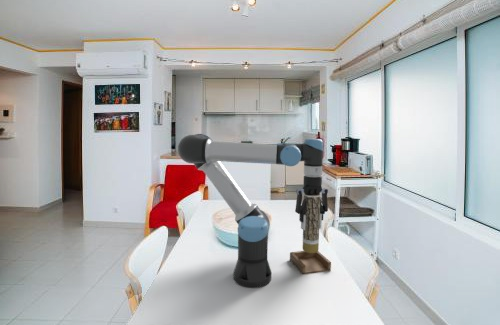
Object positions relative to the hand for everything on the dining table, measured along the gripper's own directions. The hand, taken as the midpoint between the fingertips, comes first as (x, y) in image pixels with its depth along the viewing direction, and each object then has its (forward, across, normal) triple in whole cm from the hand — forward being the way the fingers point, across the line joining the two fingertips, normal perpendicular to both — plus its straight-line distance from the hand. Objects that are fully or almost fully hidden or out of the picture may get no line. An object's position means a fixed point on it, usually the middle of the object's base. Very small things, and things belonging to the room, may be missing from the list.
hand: (311, 228), depth 122 cm
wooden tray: (+17, 0, 0) cm, 17 cm away
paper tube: (+10, 0, 0) cm, 10 cm away
